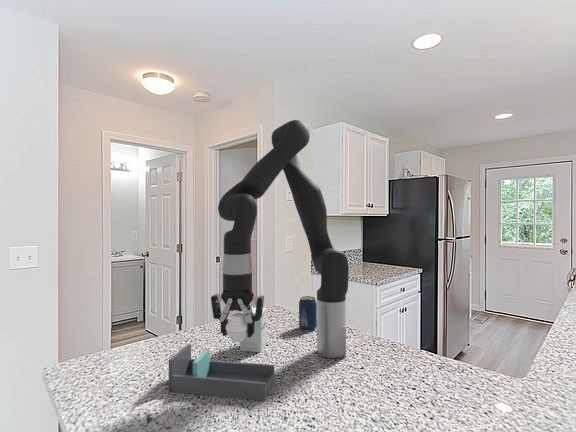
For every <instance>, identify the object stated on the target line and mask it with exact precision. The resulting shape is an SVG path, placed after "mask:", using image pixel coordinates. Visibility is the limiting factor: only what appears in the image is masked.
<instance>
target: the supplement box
mask: <svg viewBox="0 0 576 432" xmlns="http://www.w3.org/2000/svg"><path fill="white" fill-rule="evenodd" d="M251 308H252V312H253V314H254V315H255V313H256V306H255V307H253V306H251ZM240 313H241V314H243V311H240ZM243 315H244V314H243ZM244 317H245V319H246V321H247V322H248V320H247V318H246V316H245V315H244ZM266 345H267V307H263V311H262V317H261V318H260V320H259V321H255V332H254V334H253V335H252V336H251V338H249V337H247V335H246V337H245V339H244V340H243V341H241V342H239V351H241V352H253V353H261V352H262V351H263V349H264V348H265V346H266Z"/></svg>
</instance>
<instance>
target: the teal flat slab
mask: <svg viewBox="0 0 576 432" xmlns="http://www.w3.org/2000/svg"><path fill="white" fill-rule="evenodd" d="M210 354H211V352H210V350H207V349H206V350H204V351H203V352H202V353H201V354H200V355H199V356H198V357H197V358H195V359H196V360H195V361H194V362H193V376H198V377H206V376H207V375H208V374H209V373H210V360H211V358H210V357H211V355H210Z"/></svg>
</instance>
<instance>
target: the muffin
mask: <svg viewBox="0 0 576 432" xmlns="http://www.w3.org/2000/svg"><path fill="white" fill-rule="evenodd" d="M247 323H248V322H247V321H246V319H245V317H244V315H243V314H241V312H236V313H233V314H232V315H231V316H230V320H229V319H228V323H227V324H226V330H227V333H228V334H227V336H228V337H229V339H230V341H231V342H233V343H240V342H241V341H243V340H244V339H245V337H246V335H247Z"/></svg>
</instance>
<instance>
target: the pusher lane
mask: <svg viewBox="0 0 576 432" xmlns="http://www.w3.org/2000/svg"><path fill="white" fill-rule="evenodd" d="M196 359H197V358H192V344H190V343H188V344H186V345H185V346H184V347H183V348H182V349H180V350H179V351H178V352H176V353H175V354H174V355H172V356H171V358H169V359H168V392H169V393H170V392H171V393H181V394H191V395H200V396H210V397H211V396H213V397H222V398H231V399H241V400H251V401H252V400H253V401H261V402H262V401H264V402H266V400H267V398H268V395H269V393H270V390H271V388H272V386H273V384H274V382H275V364H266V363H252V362H241V361H240V362H238V361H227V360H214V359H213V360H212V359H210V373H209V374H208V375H207V376H206V377H198V376H193V362H194V361H195V360H196Z"/></svg>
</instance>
